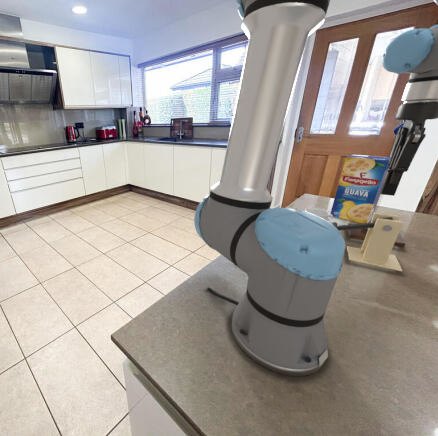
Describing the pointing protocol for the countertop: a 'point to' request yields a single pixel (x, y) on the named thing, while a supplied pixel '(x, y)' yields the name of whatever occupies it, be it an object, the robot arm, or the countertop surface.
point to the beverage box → (360, 187)
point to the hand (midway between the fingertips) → (387, 194)
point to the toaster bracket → (379, 243)
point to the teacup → (319, 213)
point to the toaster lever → (357, 225)
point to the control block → (362, 233)
